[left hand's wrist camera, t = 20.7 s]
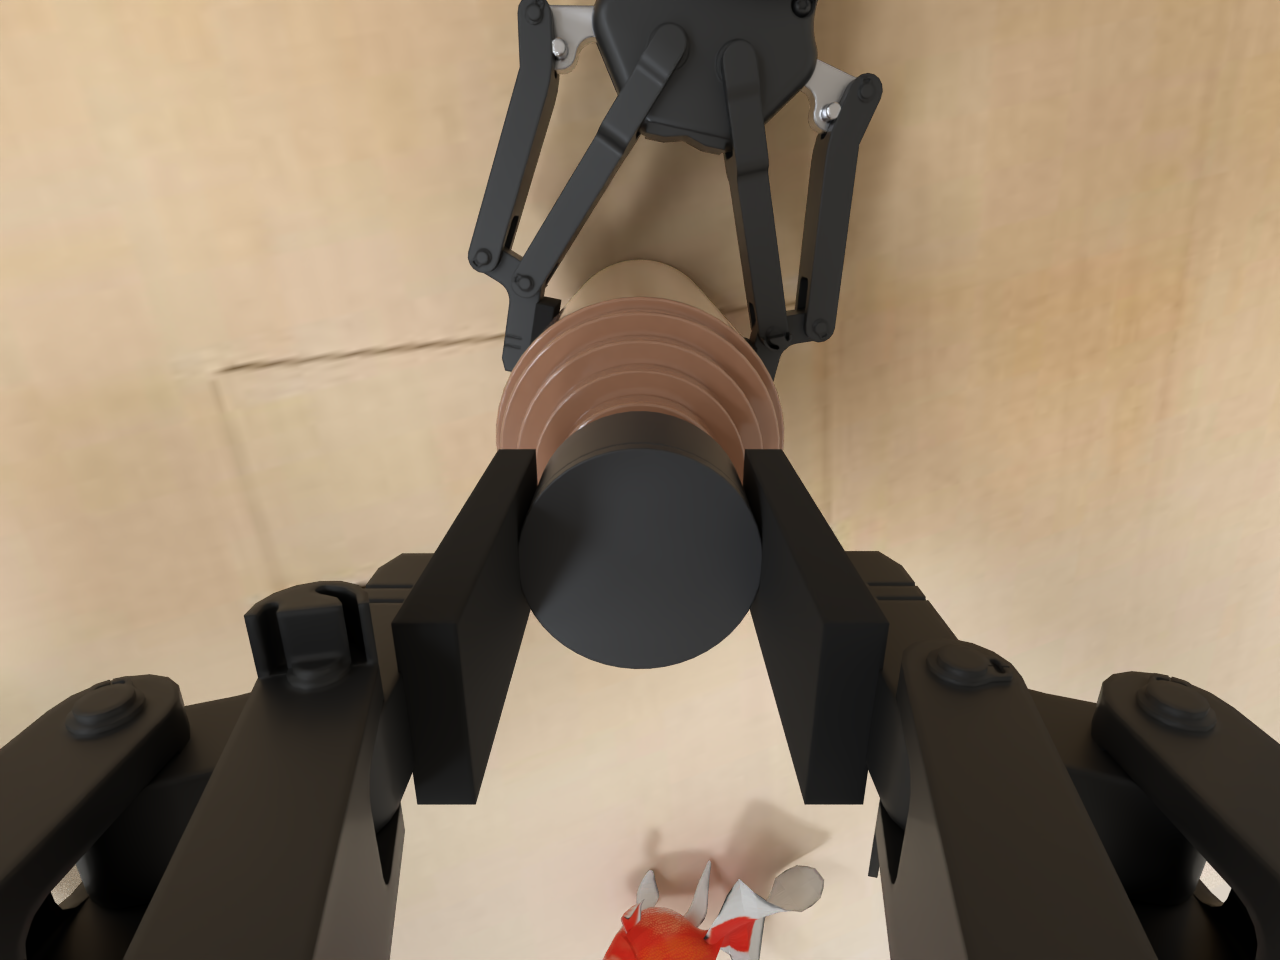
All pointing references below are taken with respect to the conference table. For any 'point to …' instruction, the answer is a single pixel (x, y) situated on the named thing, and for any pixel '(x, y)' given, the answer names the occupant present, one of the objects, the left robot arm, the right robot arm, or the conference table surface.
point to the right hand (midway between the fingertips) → (619, 461)
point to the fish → (685, 955)
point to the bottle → (640, 367)
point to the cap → (640, 542)
